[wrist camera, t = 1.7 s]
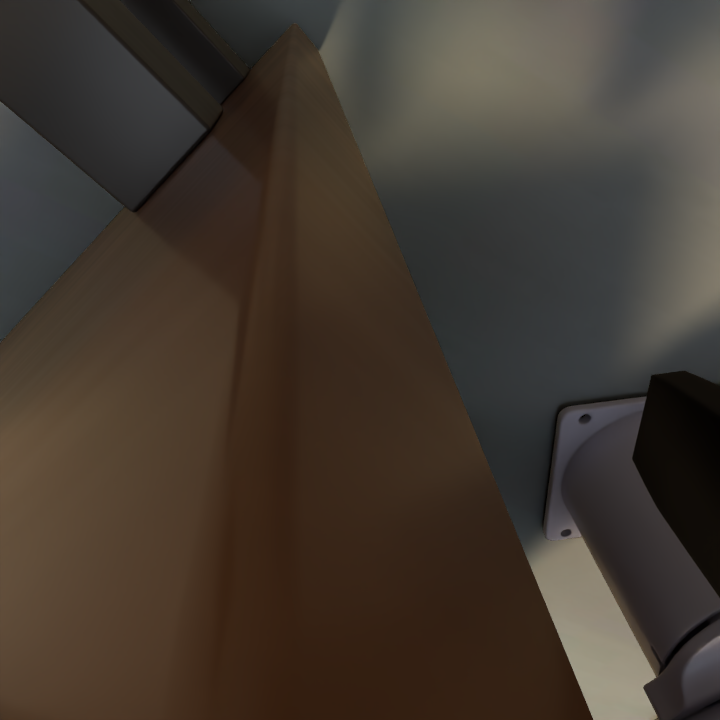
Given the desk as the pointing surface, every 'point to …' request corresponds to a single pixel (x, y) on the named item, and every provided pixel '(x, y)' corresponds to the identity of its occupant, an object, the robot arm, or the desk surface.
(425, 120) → the desk surface
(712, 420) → the robot arm
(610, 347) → the desk surface
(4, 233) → the desk surface
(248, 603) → the cupboard door
